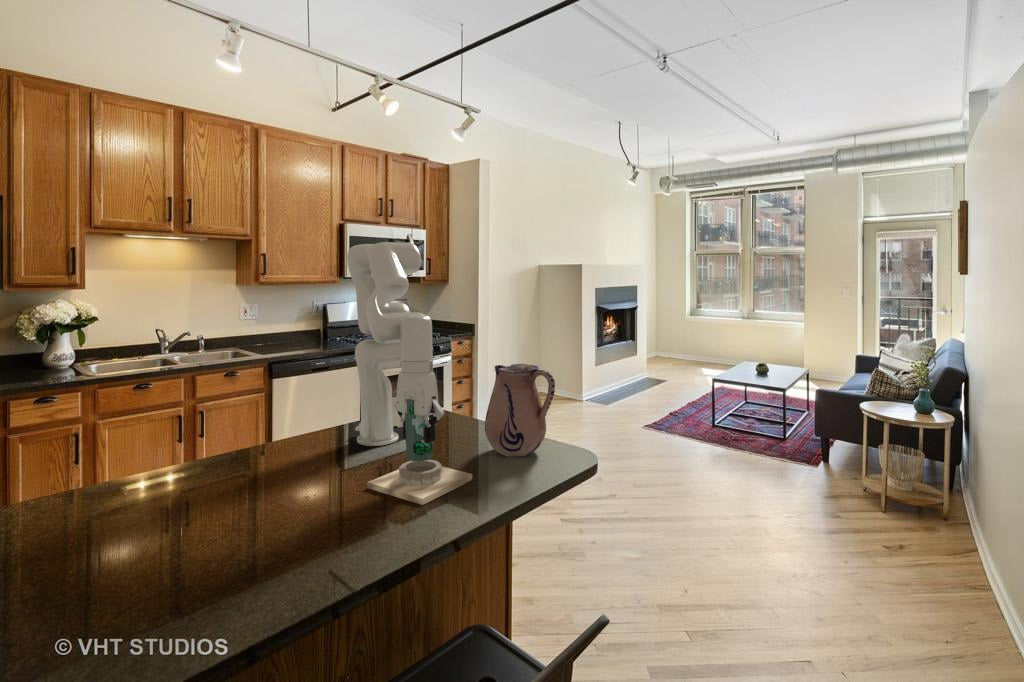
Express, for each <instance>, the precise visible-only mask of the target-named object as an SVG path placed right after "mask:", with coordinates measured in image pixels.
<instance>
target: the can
mask: <svg viewBox="0 0 1024 682" xmlns="http://www.w3.org/2000/svg"><path fill="white" fill-rule="evenodd" d="M406 401H407V413H406V410H405V426H406V439H405V448H406V449H405V450H406V460H408V461H414V462H415V461H418V462H419V461H425V460H432V459H433V458H434V447H433V446H434V445H433V444H434V443H433V442H434V441H432V442H430V443H425V439H424V427H426V424H425V421H424V418H423V416H417V415H414V400H410V399H406ZM430 413H431V411H430ZM429 419H430V420H431V418H430V416H429Z"/></svg>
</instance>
